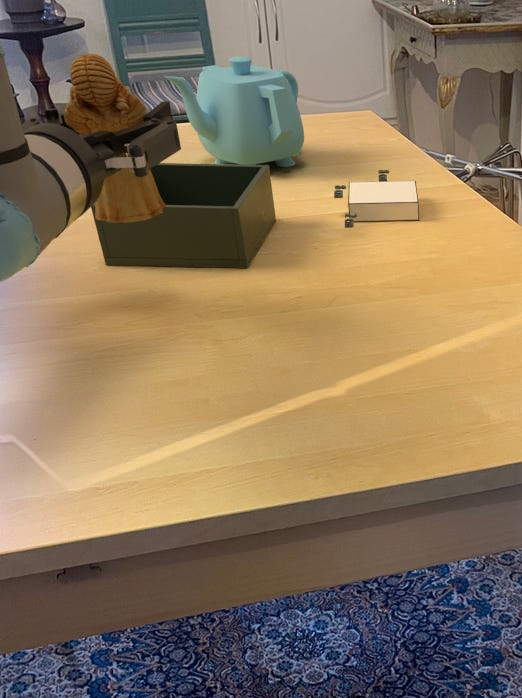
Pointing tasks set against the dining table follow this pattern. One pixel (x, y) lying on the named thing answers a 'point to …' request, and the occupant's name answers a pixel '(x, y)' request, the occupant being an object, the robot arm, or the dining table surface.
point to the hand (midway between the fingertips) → (129, 115)
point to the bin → (197, 219)
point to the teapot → (245, 113)
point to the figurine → (111, 115)
